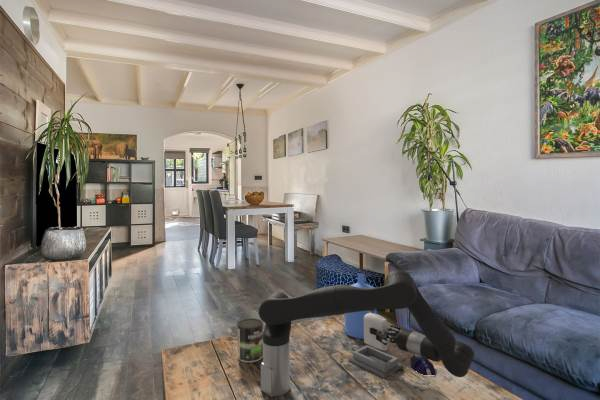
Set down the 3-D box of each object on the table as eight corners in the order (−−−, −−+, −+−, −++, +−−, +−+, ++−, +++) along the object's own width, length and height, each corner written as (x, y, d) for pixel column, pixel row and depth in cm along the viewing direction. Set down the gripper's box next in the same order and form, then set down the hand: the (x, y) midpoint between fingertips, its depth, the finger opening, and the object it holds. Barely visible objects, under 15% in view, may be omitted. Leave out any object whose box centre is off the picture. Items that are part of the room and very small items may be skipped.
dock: (384, 378, 130) (384, 369, 129) (348, 361, 142) (348, 352, 142) (402, 367, 138) (402, 358, 137) (366, 351, 150) (367, 343, 150)
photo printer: (362, 342, 142) (361, 312, 141) (369, 339, 145) (368, 309, 144) (383, 352, 134) (382, 319, 133) (390, 348, 137) (389, 317, 136)
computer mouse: (416, 379, 130) (417, 368, 130) (401, 358, 145) (401, 349, 144) (441, 377, 131) (441, 367, 130) (423, 357, 145) (423, 348, 145)
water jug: (346, 339, 161) (346, 278, 160) (343, 325, 177) (343, 270, 175) (380, 340, 161) (381, 279, 159) (374, 325, 176) (375, 270, 175)
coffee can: (267, 357, 145) (267, 323, 145) (246, 365, 139) (245, 330, 138) (254, 348, 153) (254, 316, 153) (233, 355, 147) (232, 322, 146)
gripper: (423, 326, 131) (384, 314, 144) (402, 338, 122) (362, 324, 135) (423, 346, 132) (384, 332, 144) (402, 359, 122) (362, 343, 135)
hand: (374, 328), depth 139 cm, fingers closed on photo printer, 4 cm apart
